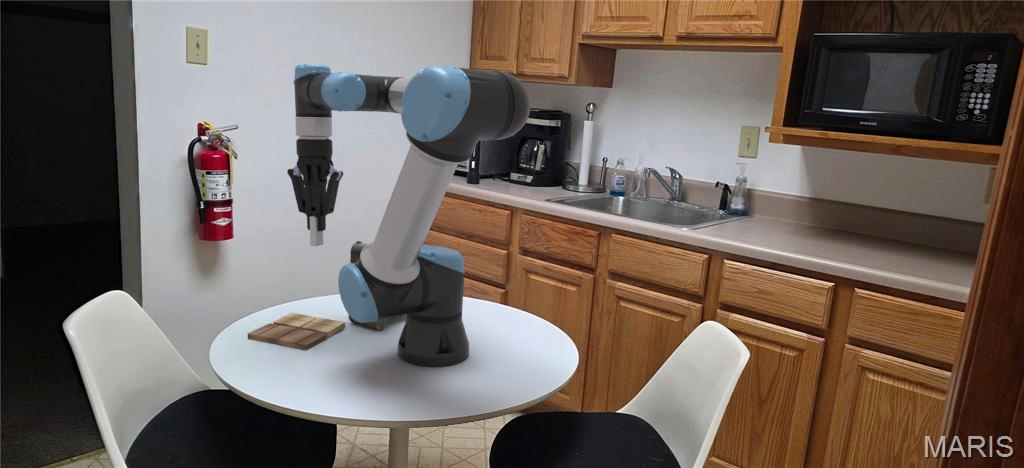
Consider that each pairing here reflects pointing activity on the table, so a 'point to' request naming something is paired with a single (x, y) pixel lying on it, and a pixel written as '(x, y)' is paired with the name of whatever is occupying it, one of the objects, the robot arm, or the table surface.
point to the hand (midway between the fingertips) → (316, 244)
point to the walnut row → (287, 336)
